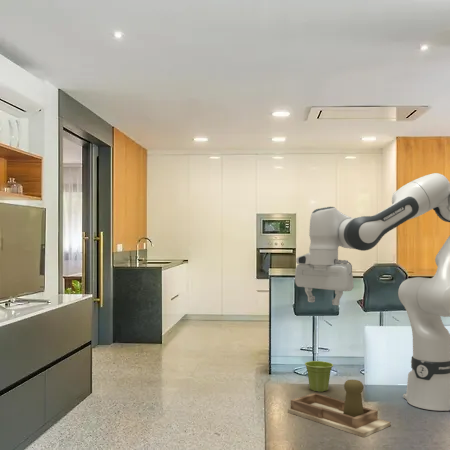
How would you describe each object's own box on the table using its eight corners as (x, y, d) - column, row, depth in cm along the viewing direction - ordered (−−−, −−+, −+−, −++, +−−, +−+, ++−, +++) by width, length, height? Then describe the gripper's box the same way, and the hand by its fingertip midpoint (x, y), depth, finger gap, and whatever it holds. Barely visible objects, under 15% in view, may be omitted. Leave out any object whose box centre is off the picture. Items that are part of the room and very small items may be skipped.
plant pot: (304, 385, 190) (304, 360, 190) (332, 386, 189) (332, 361, 189) (304, 392, 181) (305, 366, 181) (333, 394, 179) (333, 367, 179)
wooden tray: (315, 403, 169) (315, 392, 169) (390, 425, 150) (390, 412, 150) (287, 412, 160) (288, 400, 161) (363, 437, 141) (363, 423, 141)
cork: (365, 424, 148) (365, 384, 148) (342, 423, 149) (342, 382, 149) (364, 417, 153) (364, 378, 154) (342, 415, 155) (342, 377, 155)
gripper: (357, 260, 164) (357, 306, 163) (304, 257, 179) (304, 299, 178) (345, 260, 159) (345, 307, 159) (292, 258, 174) (291, 301, 174)
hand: (323, 303), depth 169 cm, fingers open, 8 cm apart
